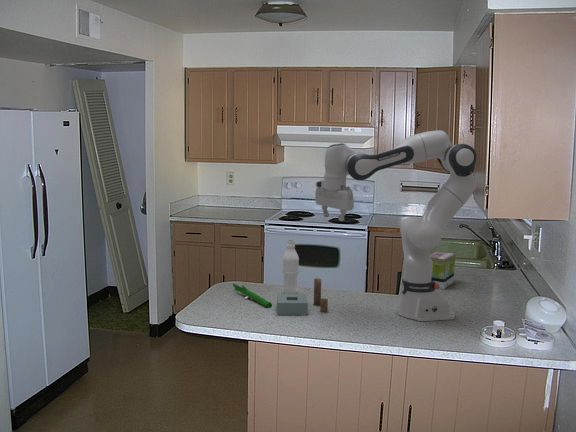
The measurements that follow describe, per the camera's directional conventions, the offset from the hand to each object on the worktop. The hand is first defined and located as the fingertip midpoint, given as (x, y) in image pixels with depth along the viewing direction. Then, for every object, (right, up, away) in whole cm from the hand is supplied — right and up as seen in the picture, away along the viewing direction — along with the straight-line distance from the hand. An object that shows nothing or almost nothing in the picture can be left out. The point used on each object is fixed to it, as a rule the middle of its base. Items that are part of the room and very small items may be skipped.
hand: (333, 218), depth 243 cm
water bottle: (-17, -34, +24) cm, 46 cm away
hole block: (-17, -38, +5) cm, 41 cm away
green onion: (-35, -35, +20) cm, 53 cm away
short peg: (-4, -38, +4) cm, 38 cm away
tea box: (+54, -32, +47) cm, 78 cm away
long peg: (-6, -36, +13) cm, 39 cm away
